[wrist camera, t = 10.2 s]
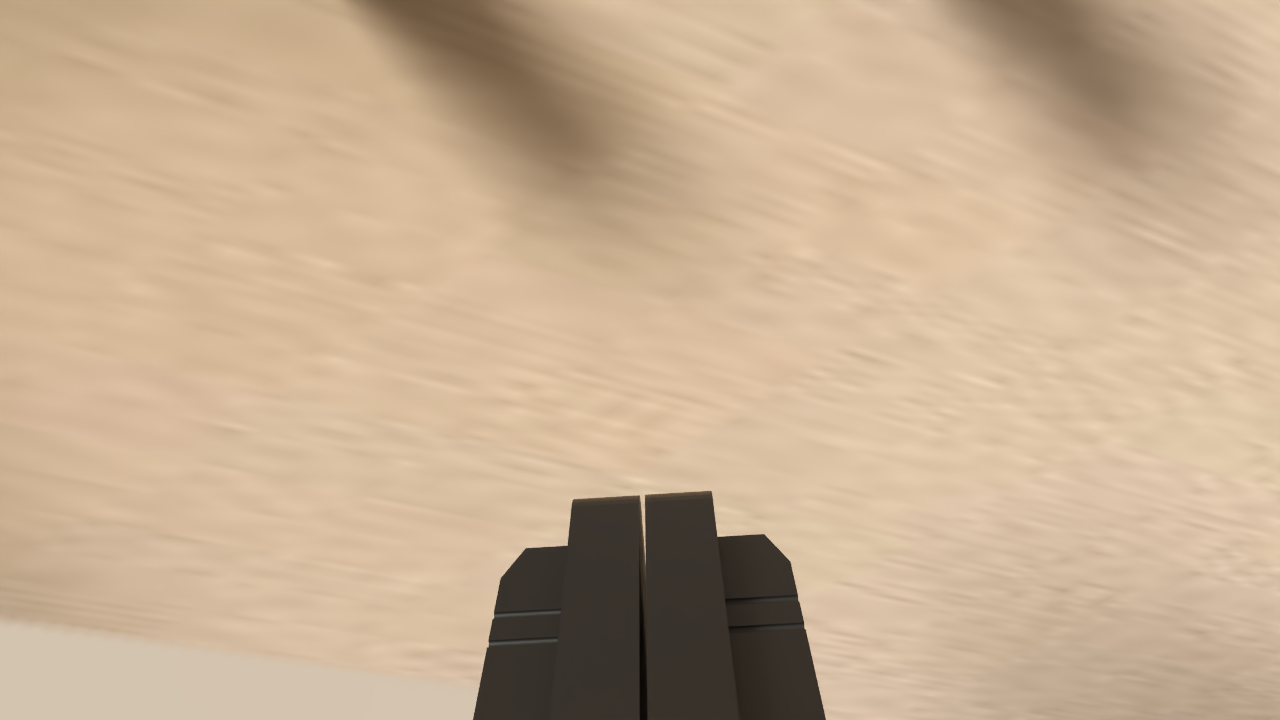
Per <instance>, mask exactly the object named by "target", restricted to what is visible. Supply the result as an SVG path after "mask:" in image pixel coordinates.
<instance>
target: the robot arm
mask: <svg viewBox="0 0 1280 720" xmlns="http://www.w3.org/2000/svg"><path fill="white" fill-rule="evenodd" d="M645 526H646V563H645V550H644V537H643V524H642V512H641V502H640V496H622V497H605V498H588V499H574V500H573V502H572V509H571V519H570V528H569V538H568V546H558V547H541V548H526V549H525V550H524V551H523V552H522V554H521V555H520V556H519V557H518V558H517V560H516V561H515V562H514V563H513V564H512V566H511V567H510V568H509V569H508V570H507V572H506V573H505V574H504V575H503V576H502V578H501V580H500V585H499V590H498V595H497V600H496V605H495V610H494V619H493V621H492V626H491V631H490V636H489V648H487V651H486V656H485V661H484V667H483V672H482V677H481V682H480V687H479V692H478V697H477V702H476V708H475V713H474V718H473V720H826V718H825V714H824V709H823V705H822V700H821V696H820V691H819V687H818V683H817V678H816V674H815V669H814V665H813V660H812V656H811V652H810V647H809V643H808V638H807V634H806V629H804V620H803V616H802V612H801V607H800V603H799V601H798V594H797V589H796V585H795V580H794V576H793V572H792V567H791V563H790V561H789V560H788V559H787V558H786V557H785V556H784V555H783V553H782V552H781V551H780V550H779V549H778V548H777V547H776V546H775V545H774V544H773V543H772V542H771V541H770V540H769V539H768V538H767V537H766V536H765V535H764V534H760V535H743V536H726V537H717V530H716V522H715V514H714V506H713V498H712V492H711V491H702V492H685V493H668V494H652V495H645Z"/></svg>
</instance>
